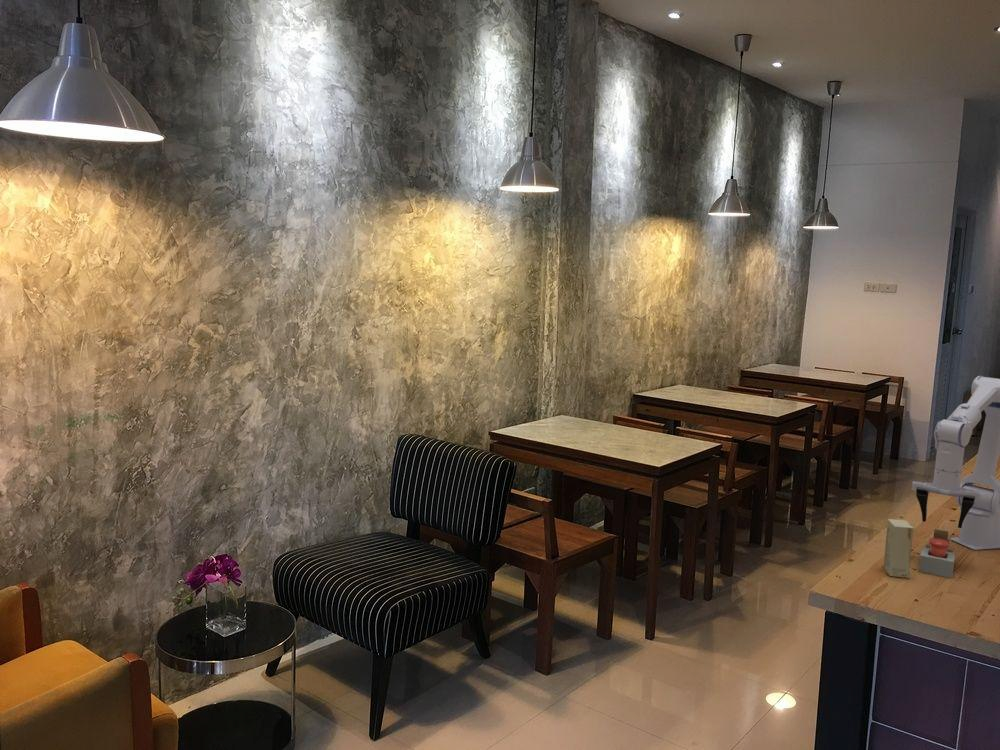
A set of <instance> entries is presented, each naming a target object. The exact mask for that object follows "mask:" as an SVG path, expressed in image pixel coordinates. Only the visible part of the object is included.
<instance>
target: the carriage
mask: <svg viewBox="0 0 1000 750" xmlns="http://www.w3.org/2000/svg"><path fill="white" fill-rule="evenodd" d="M933 538H938V539H943V540H946V541H947V540H948V539H949V531H947V530H941V529H937V528H934V531H933ZM925 547H926V548H930V547H931V544H929V542H926V544H925ZM947 552H953V553H954V547H951V546H949V547H947Z"/></svg>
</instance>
